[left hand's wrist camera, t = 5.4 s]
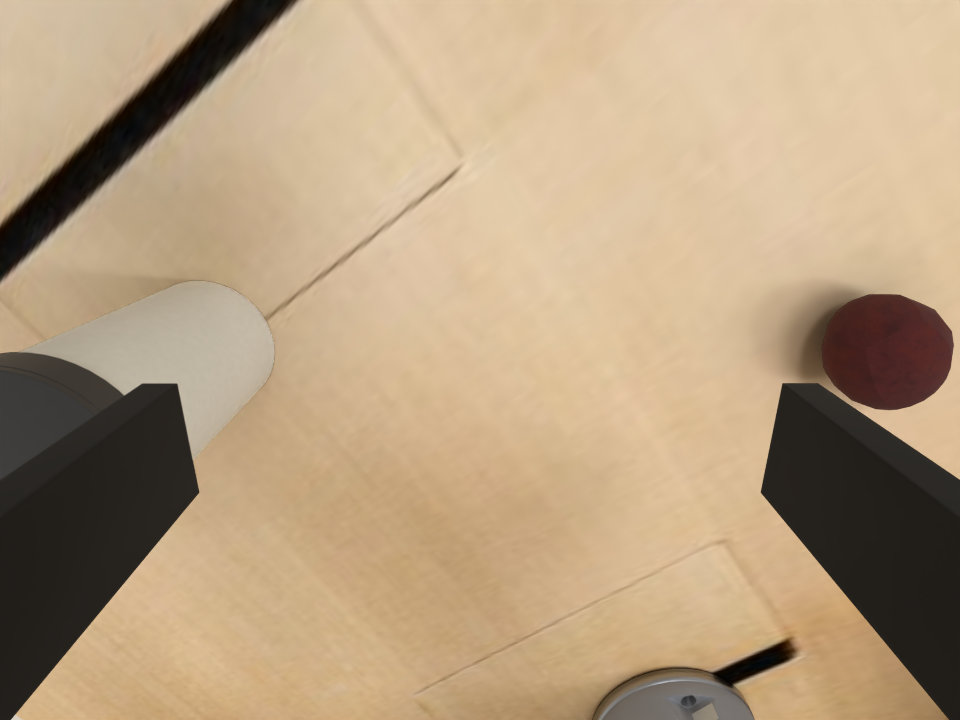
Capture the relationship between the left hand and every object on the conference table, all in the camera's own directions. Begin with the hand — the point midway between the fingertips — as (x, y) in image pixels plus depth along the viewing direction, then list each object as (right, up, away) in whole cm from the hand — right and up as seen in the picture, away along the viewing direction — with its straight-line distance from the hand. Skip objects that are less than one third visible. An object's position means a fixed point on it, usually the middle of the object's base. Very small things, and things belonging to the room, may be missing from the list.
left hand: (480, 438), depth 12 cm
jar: (-20, +3, +29) cm, 35 cm away
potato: (+27, +4, +29) cm, 39 cm away
